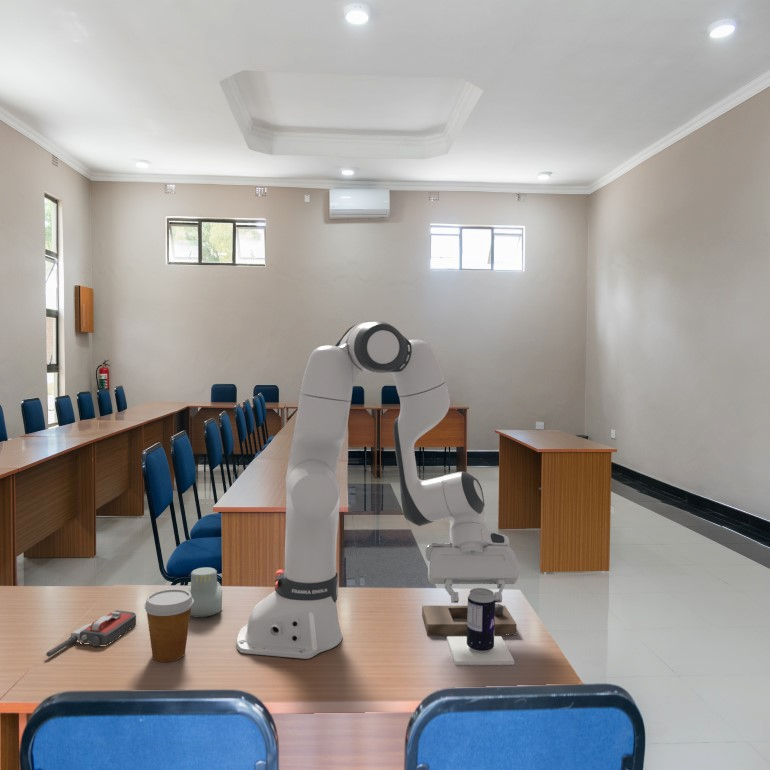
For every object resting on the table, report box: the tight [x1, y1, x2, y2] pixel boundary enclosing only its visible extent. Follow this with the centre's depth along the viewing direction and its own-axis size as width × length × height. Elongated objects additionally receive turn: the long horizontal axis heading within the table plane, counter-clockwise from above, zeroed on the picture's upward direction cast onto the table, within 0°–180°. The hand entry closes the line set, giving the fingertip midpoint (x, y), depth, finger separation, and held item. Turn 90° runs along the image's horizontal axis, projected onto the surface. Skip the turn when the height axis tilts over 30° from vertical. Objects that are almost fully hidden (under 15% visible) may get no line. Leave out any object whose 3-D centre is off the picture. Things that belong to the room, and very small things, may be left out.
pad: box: [446, 635, 515, 666], centre depth 129 cm, size 12×11×1 cm
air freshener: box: [186, 566, 223, 618], centre depth 146 cm, size 11×8×10 cm
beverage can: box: [466, 587, 496, 653], centre depth 129 cm, size 6×6×12 cm
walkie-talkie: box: [46, 609, 137, 658], centre depth 131 cm, size 9×4×20 cm
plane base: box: [421, 603, 517, 636], centre depth 142 cm, size 20×10×4 cm, turn 93°
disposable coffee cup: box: [143, 588, 194, 663], centre depth 125 cm, size 10×10×12 cm
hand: (476, 601), depth 133 cm, fingers open, 8 cm apart
